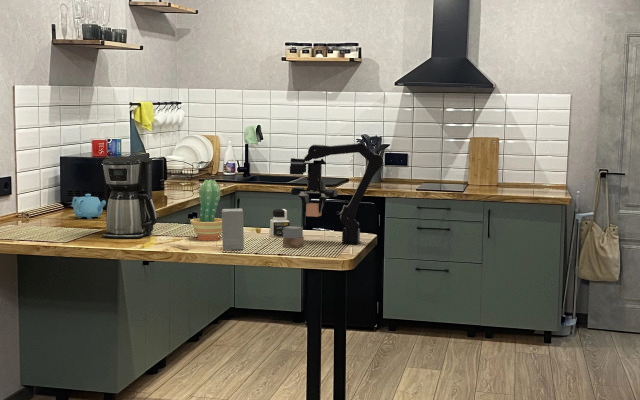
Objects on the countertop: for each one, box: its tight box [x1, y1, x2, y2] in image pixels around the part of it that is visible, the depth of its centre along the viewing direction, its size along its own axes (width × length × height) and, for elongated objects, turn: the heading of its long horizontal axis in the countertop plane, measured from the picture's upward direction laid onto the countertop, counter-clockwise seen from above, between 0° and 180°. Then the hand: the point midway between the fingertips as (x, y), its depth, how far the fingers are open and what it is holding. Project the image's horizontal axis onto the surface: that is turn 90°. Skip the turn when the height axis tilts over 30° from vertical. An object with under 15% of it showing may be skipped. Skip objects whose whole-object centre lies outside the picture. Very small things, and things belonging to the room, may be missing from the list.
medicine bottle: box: [269, 208, 291, 239], centre depth 376 cm, size 7×7×12 cm
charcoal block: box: [282, 225, 304, 239], centre depth 350 cm, size 6×6×4 cm
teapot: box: [71, 193, 106, 220], centre depth 426 cm, size 20×17×12 cm
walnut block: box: [282, 236, 305, 249], centre depth 350 cm, size 6×6×4 cm
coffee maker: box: [101, 155, 158, 239], centre depth 375 cm, size 23×32×34 cm
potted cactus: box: [190, 179, 222, 241], centre depth 365 cm, size 15×15×25 cm
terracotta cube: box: [305, 202, 323, 218], centre depth 360 cm, size 5×5×5 cm
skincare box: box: [221, 208, 245, 251], centre depth 342 cm, size 8×7×16 cm
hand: (313, 212), depth 360 cm, fingers closed on terracotta cube, 5 cm apart
